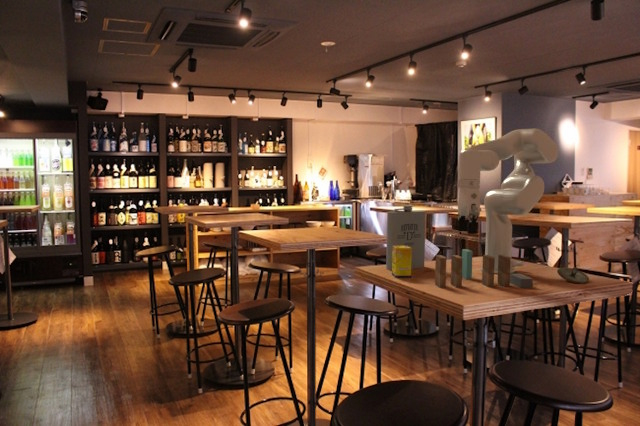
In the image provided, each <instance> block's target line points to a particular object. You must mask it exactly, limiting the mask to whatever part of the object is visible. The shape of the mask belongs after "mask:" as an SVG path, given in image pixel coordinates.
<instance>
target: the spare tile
mask: <svg viewBox="0 0 640 426" xmlns="http://www.w3.org/2000/svg"><path fill="white" fill-rule="evenodd" d="M473 255H474V253H473V251H472V250H470V249H468V248H466V249H465V248H463V249H461V257H462V258H463V261H462V279H465V280H472V278H473V276H472V275H473Z"/></svg>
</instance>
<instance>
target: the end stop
mask: <svg viewBox="0 0 640 426" xmlns="http://www.w3.org/2000/svg"><path fill="white" fill-rule="evenodd" d="M510 284H512V285H514V286H516V287H518V288H521V289H528V288H529V289H532V288H533V287H534V279H533V278H531V277H530V276H527V275H524V274H522V273H510Z"/></svg>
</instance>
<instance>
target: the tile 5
mask: <svg viewBox="0 0 640 426" xmlns="http://www.w3.org/2000/svg"><path fill="white" fill-rule="evenodd" d="M511 259H512V256H511V257H509V256H506V255H498V273H497V281H496V282H497V285H498V286H501V287H503V288H510V285H511V283H510V274H511V273H510V263H511Z"/></svg>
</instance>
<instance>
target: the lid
mask: <svg viewBox="0 0 640 426" xmlns="http://www.w3.org/2000/svg"><path fill="white" fill-rule="evenodd" d="M556 272H557V274H558V275H559V276H560V277H561V278H562V279H563V280H565V281H567V282H570V283H572V284H578V283H583V284H588V283H589V281H590V277H589V276H588V275H587V274H586V273H584V272H583V271H581V270H579V268H577V267H573V268H572V267H559V268H558V269H557V270H556Z"/></svg>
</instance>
